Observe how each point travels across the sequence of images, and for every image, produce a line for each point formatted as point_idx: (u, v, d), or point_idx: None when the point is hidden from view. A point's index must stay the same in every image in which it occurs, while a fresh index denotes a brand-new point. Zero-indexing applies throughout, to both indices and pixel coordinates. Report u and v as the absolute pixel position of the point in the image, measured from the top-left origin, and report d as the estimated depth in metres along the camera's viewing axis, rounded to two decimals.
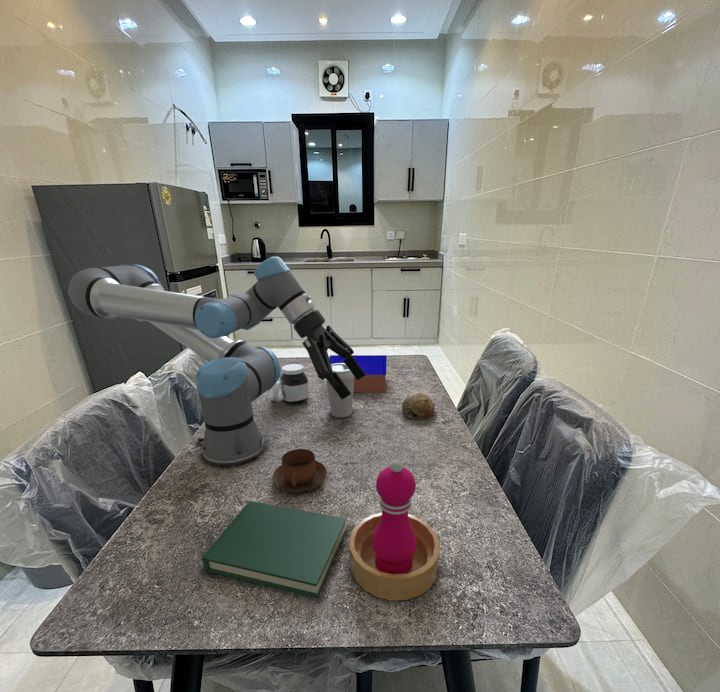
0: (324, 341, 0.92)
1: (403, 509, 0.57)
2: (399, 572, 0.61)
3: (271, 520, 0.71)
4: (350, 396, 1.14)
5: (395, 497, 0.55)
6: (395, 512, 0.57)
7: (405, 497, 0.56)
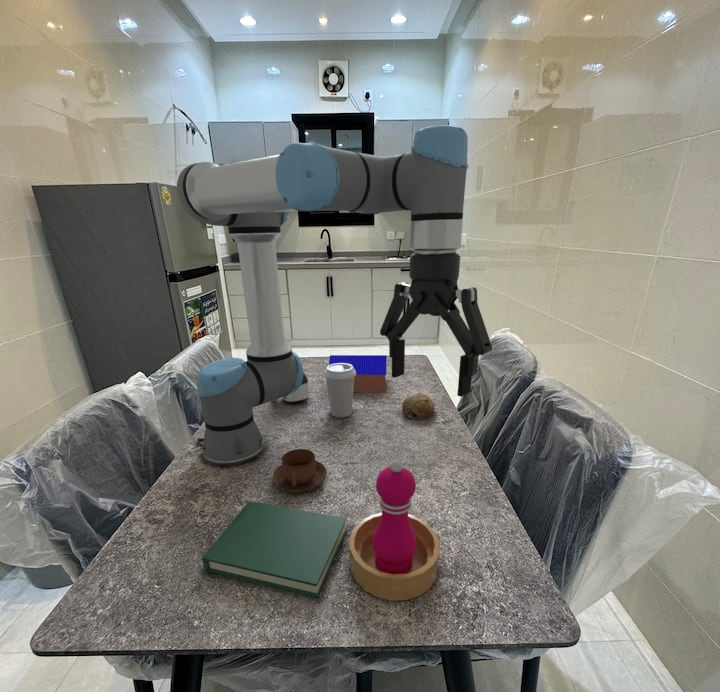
0: None
1: (403, 509, 0.57)
2: (399, 572, 0.61)
3: (271, 520, 0.71)
4: (350, 396, 1.14)
5: (395, 497, 0.55)
6: (395, 512, 0.57)
7: (405, 497, 0.56)
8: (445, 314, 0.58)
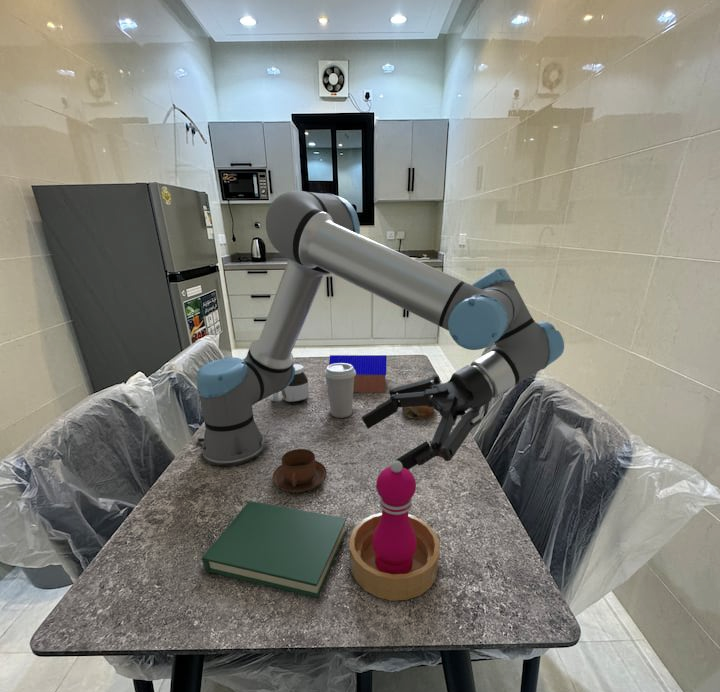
0: None
1: (403, 509, 0.57)
2: (399, 572, 0.61)
3: (271, 520, 0.71)
4: (350, 396, 1.14)
5: (395, 497, 0.55)
6: (395, 512, 0.57)
7: (406, 497, 0.56)
8: (448, 410, 0.63)
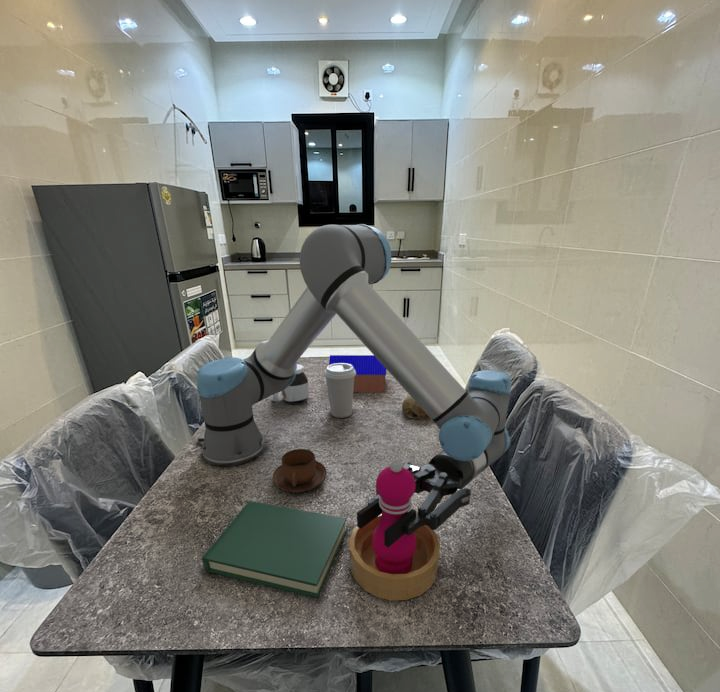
0: None
1: (403, 509, 0.57)
2: (399, 572, 0.61)
3: (271, 520, 0.71)
4: (350, 396, 1.14)
5: (395, 497, 0.55)
6: (395, 512, 0.57)
7: (405, 497, 0.56)
8: (438, 485, 0.64)
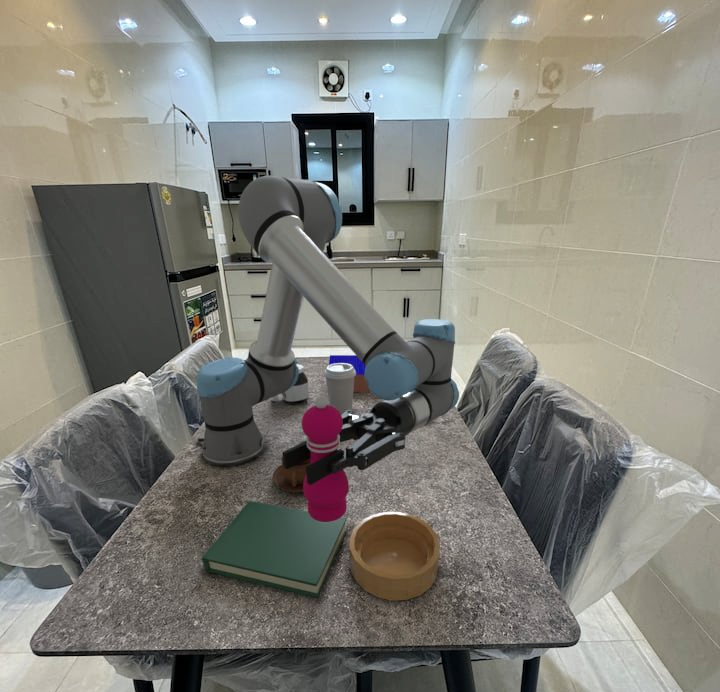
0: None
1: (329, 447, 0.55)
2: (329, 517, 0.59)
3: (271, 520, 0.71)
4: (350, 396, 1.14)
5: (318, 433, 0.53)
6: (320, 450, 0.55)
7: (329, 433, 0.54)
8: (373, 429, 0.62)
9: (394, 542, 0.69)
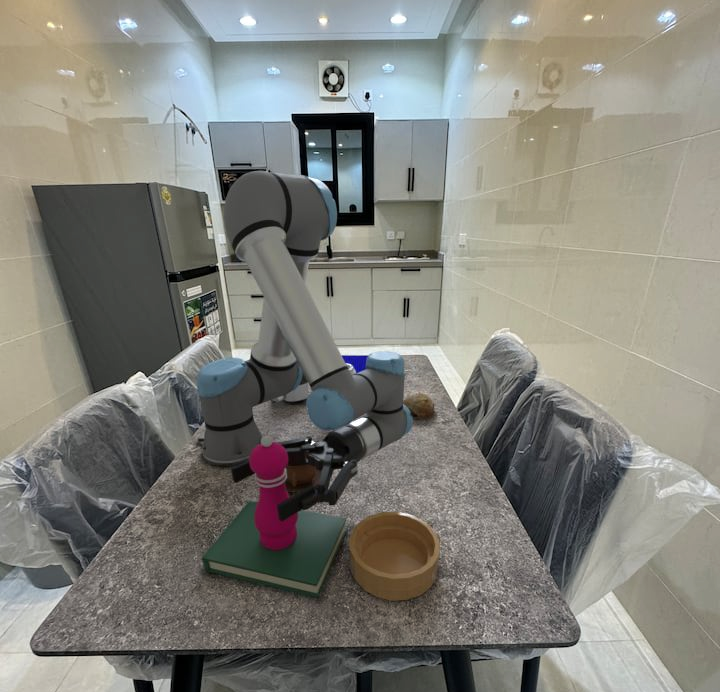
0: None
1: (274, 482, 0.60)
2: (278, 545, 0.64)
3: None
4: None
5: (262, 470, 0.58)
6: (266, 485, 0.60)
7: (273, 470, 0.58)
8: (328, 461, 0.65)
9: (394, 542, 0.69)
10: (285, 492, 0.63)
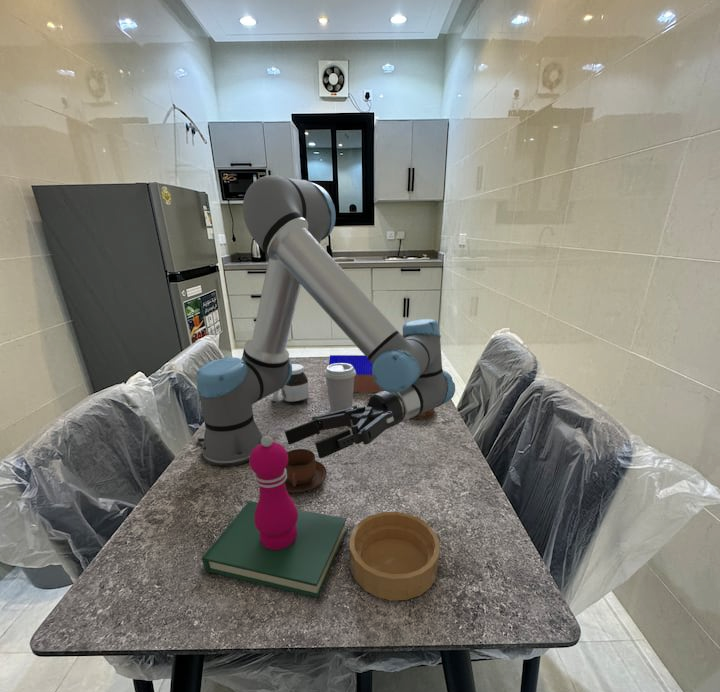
0: None
1: (274, 482, 0.60)
2: (278, 545, 0.64)
3: None
4: (350, 396, 1.14)
5: (262, 470, 0.58)
6: (266, 485, 0.60)
7: (273, 470, 0.58)
8: (366, 414, 0.71)
9: (394, 542, 0.69)
10: (285, 492, 0.63)
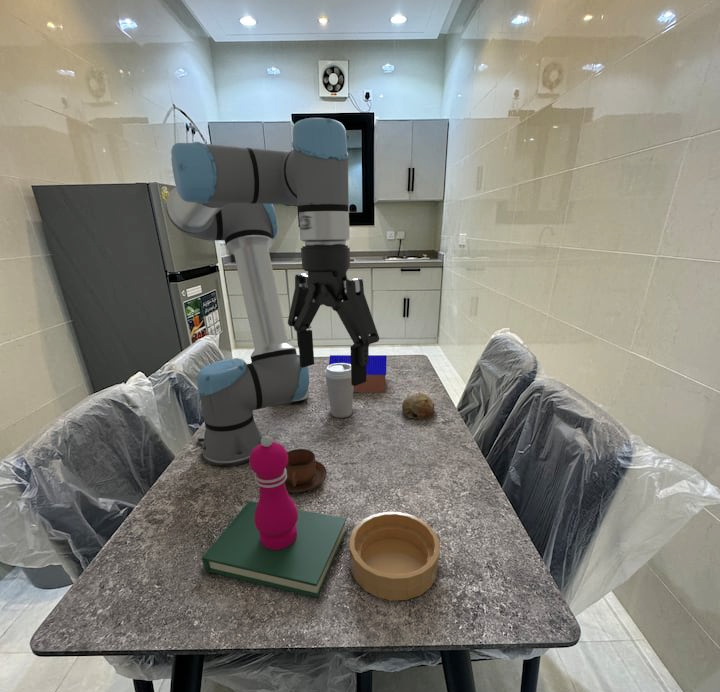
0: (309, 293, 0.62)
1: (274, 482, 0.60)
2: (278, 545, 0.64)
3: None
4: (350, 396, 1.14)
5: (262, 470, 0.58)
6: (266, 485, 0.60)
7: (273, 470, 0.58)
8: None
9: (394, 542, 0.69)
10: (285, 492, 0.63)
